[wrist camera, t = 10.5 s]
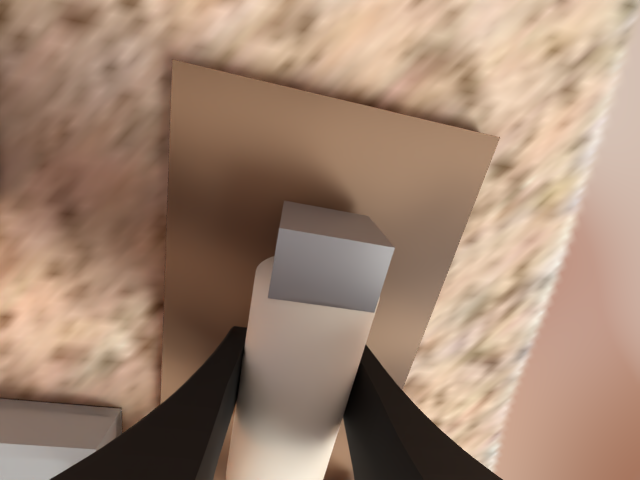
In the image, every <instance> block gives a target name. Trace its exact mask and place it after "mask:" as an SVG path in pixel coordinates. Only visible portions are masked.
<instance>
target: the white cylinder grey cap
mask: <svg viewBox="0 0 640 480" xmlns="http://www.w3.org/2000/svg"><path fill="white" fill-rule="evenodd" d="M394 249H395V247H394V246H393V245H392V244H391V243H390V241H389V240H388V239H387V238H386V237H385V235H384V234H383V233H382V232H381V231H380V229H379V228H378V227H377V226H376V225H375V223H374V222H373V221H372V220H371V219H370V217H369V216H365V215H360V214H354V213H349V212H344V211H338V210H333V209H327V208H322V207H317V206H311V205H306V204H300V203H295V202H289V201H284V204H283V209H282V215H281V221H280V227H279V233H278V239H277V244H276V250H275V256H273V257H270V258H268V259H266V260H264V261H263V262H261V263H260V264H259V265H258V267H257V269H256V272H255V279H254V286H253V293H252V300H251V306H250V313H249V320H248V327H247V333H246V340H245V347H244V354H243V361H242V367H241V374H240V381H239V388H238V395H237V401H236V408H235V415H234V422H233V428H232V435H231V442H230V449H229V455H228V462H227V469H226V480H323V479H324V475H325V472H326V469H327V466H328V463H329V459H330V456H331V453H332V450H333V447H334V443H335V440H336V437H337V434H338V431H339V427H340V424H341V421H342V418H343V415H344V412H345V408H346V405H347V402H348V399H349V396H350V392H351V389H352V386H353V383H354V380H355V376H356V373H357V370H358V367H359V364H360V360H361V357H362V354H363V351H364V348H365V345H366V341H367V338H368V335H369V332H370V329H371V325H372V322H373V319H374V316H375V313H376V309H377V306H378V303H379V299H380V293H381V290H382V287H383V284H384V281H385V277H386V274H387V271H388V268H389V265H390V261H391V258H392V255H393V252H394Z"/></svg>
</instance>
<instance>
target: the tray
mask: <svg viewBox="0 0 640 480" xmlns="http://www.w3.org/2000/svg"><path fill="white" fill-rule="evenodd" d="M121 434H122V409H120V408H108V407H96V406H84V405H71V404H59V403H47V402H35V401H23V400H11V399H0V480H50V479H51V478H53V477H54V476H56V475H58V474H60V473H61V472H63V471H65V470H66V469H68V468H69V467H71V466H73V465H74V464H76V463H78V462H79V461H81V460H83V459H84V458H86V457H88V456H89V455H91V454H92V453H94V452H96V451H97V450H99V449H100V448H102V447H103V446H105V445H106V444H108V443H109V442H111V441H112V440H113V439H115V438H116V437H118V436H119V435H121Z"/></svg>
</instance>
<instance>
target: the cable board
mask: <svg viewBox="0 0 640 480" xmlns="http://www.w3.org/2000/svg"><path fill="white" fill-rule="evenodd" d="M499 139H500V137H496V136H492V135H488V134H484V133H479V132H475V131H471V130H467V129H463V128H459V127H454V126H450V125H446V124H442V123H438V122H433V121H429V120H425V119H421V118H417V117H412V116H408V115H404V114H400V113H396V112H391V111H387V110H383V109H379V108H375V107H370V106H366V105H362V104H358V103H354V102H349V101H345V100H341V99H337V98H333V97H328V96H324V95H320V94H316V93H312V92H308V91H303V90H299V89H295V88H291V87H287V86H282V85H278V84H274V83H270V82H266V81H261V80H257V79H253V78H249V77H245V76H240V75H236V74H232V73H228V72H224V71H219V70H215V69H211V68H207V67H203V66H198V65H194V64H190V63H186V62H182V61H177V60H173V59H172V84H171V113H170V142H169V171H168V200H167V228H166V257H165V286H164V315H163V344H162V373H161V402H160V404H162V403H163V402H164V401H165V400H166V399H168V398H169V397H170V396H171V395H172V394H173V393H174V392H175V391H177V390H178V389H179V388H180V387H181V386H182V385H183V384H184V383H185V382H186V381H187V380H188V379H189V378H190V377H191V376H192V375H193V374H194V373H195V372H196V371H197V370H198V369H199V368H200V367H201V366H202V365H203V364H204V362H205V361H206V360H207V359H208V358H209V357H210V355H211V354H212V353H213V352H214V351H215V350H216V348H217V347H218V346H219V345H220V343H221V342H222V341H223V339H224V338H225V337H226V335H227V334H228V332H229V330H230V329H231V328H232V327H233V326H238V327H246V328H247V327H248V320H249V313H250V306H251V300H252V293H253V286H254V279H255V272H256V269H257V267H258V265H259V264H260V263H261V262H263V261H264V260H266V259H268V258H270V257H273V256H275V250H276V244H277V239H278V233H279V227H280V221H281V215H282V209H283V204H284V201H289V202H295V203H300V204H306V205H311V206H317V207H322V208H327V209H333V210H338V211H344V212H349V213H354V214H360V215H365V216H369V217H370V219H371V220H372V221H373V222H374V223H375V225H376V226H377V227H378V228H379V229H380V231H381V232H382V233H383V234H384V235H385V237H386V238H387V239H388V240H389V241H390V243H391V244H392V245H393V246H394V247H395V249H394V252H393V255H392V258H391V261H390V265H389V268H388V271H387V274H386V277H385V281H384V284H383V287H382V290H381V293H380V299H379V303H378V306H377V309H376V313H375V316H374V319H373V322H372V325H371V329H370V332H369V335H368V338H367V341H366V345H367V346H368V347H369V349H370V350H371V351H372V353H373V354H374V355H375V357H376V358H377V359H378V361H379V362H380V363H381V365H382V366H383V367H384V369H385V370H386V371H387V372H388V374H389V375H390V376H391V377H392V379H393V380H394V381H395V382H396V384H397V385H398V386H399V387H400V388H401V390H402V389H403V387H404V384H405V381H406V379H407V376H408V374H409V371H410V368H411V366H412V363H413V361H414V358H415V356H416V353H417V350H418V348H419V345H420V343H421V340H422V337H423V335H424V332H425V330H426V327H427V325H428V322H429V319H430V317H431V314H432V312H433V309H434V307H435V304H436V301H437V299H438V296H439V294H440V291H441V288H442V286H443V283H444V281H445V278H446V276H447V273H448V270H449V268H450V265H451V263H452V260H453V258H454V255H455V252H456V250H457V247H458V245H459V242H460V239H461V237H462V234H463V232H464V229H465V227H466V224H467V221H468V219H469V216H470V214H471V211H472V208H473V206H474V203H475V201H476V198H477V196H478V193H479V190H480V188H481V185H482V183H483V180H484V178H485V175H486V172H487V170H488V167H489V165H490V162H491V159H492V157H493V154H494V152H495V149H496V147H497V144H498V141H499ZM235 408H236V404H235ZM235 408H234V411H233V414H232V417H231V421H230V424H229V427H228V430H227V433H226V437H225V440H224V443H223V446H222V449H221V453H220V456H219V459H218V463H217V467H216V470H215V474H214V479H213V480H226V469H227V462H228V455H229V449H230V442H231V435H232V428H233V422H234V415H235ZM323 480H354V474H353V467H352V462H351V457H350V451H349V446H348V441H347V436H346V431H345V426H344V420H343V418H342V421H341V424H340V427H339V431H338V434H337V437H336V440H335V443H334V447H333V450H332V453H331V456H330V459H329V463H328V466H327V469H326V472H325V475H324V479H323Z"/></svg>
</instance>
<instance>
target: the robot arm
mask: <svg viewBox="0 0 640 480" xmlns="http://www.w3.org/2000/svg"><path fill="white" fill-rule="evenodd" d="M246 333H247V328H246V327H238V326H233V327H232V328H231V329H230V330H229V332H228V334H227V335H226V337H225V338H224V339H223V341H222V342H221V343H220V345H219V346H218V347H217V348H216V350H215V351H214V352H213V353H212V354H211V355H210V357H209V358H208V359H207V360H206V361H205V362H204V364H203V365H202V366H201V367H200V368H199V369H198V370H197V371H196V372H195V373H194V374H193V375H192V376H191V377H190V378H189V379H188V380H187V381H186V382H185V383H184V384H183V385H182V386H181V387H180V388H179V389H178V390H177V391H175V392H174V393H173V394H172V395H171V396H170V397H169V398H168V399H166V400H165V401H164V402H163V403H162V404H160V405H159V406H158V407H157V408H155V409H154V410H153V411H152V412H150V413H149V414H148V415H147V416H145V417H144V418H143V419H142V420H140V421H139V422H138V423H136V424H135V425H134V426H132V427H131V428H129V429H128V430H126V431H125V432H124V433H122V434H121V435H119V436H118V437H116V438H115V439H113V440H112V441H111V442H109V443H108V444H106V445H105V446H103V447H102V448H100V449H99V450H97V451H96V452H94V453H92V454H91V455H89V456H88V457H86V458H84V459H83V460H81V461H79V462H78V463H76V464H74V465H73V466H71V467H69V468H68V469H66V470H65V471H63V472H61V473H60V474H58V475H56V476H54V477H53V478H51V479H50V480H213V479H214V474H215V470H216V467H217V463H218V459H219V456H220V453H221V449H222V446H223V443H224V440H225V437H226V433H227V430H228V427H229V424H230V421H231V417H232V414H233V411H234V408H235V404H236V401H237V395H238V388H239V381H240V374H241V367H242V361H243V354H244V347H245V340H246ZM343 420H344V426H345V431H346V436H347V441H348V446H349V451H350V457H351V462H352V467H353V474H354V480H503V479H501V478H500V477H498V476H497V475H495V474H494V473H493V472H491V471H490V470H489V469H487V468H486V467H485V466H484V465H482V464H481V463H480V462H478V461H477V460H476V459H474V458H473V457H472V456H471V455H469V454H468V453H467V452H466V451H464V450H463V449H462V448H461V447H460V446H458V445H457V444H456V443H455V442H454V441H453V440H451V439H450V438H449V437H448V436H447V435H446V434H445V433H443V432H442V431H441V430H440V429H439V428H438V427H437V426H436V425H435V424H434V423H433V422H432V421H431V420H430V419H429V418H428V417H427V416H426V415H425V414H424V413H423V412H422V411H421V410H420V409H419V408H418V407H417V406H416V405H415V404H414V403H413V402H412V401H411V400H410V399H409V397H408V396H407V395H406V394H405V393H404V392H403V391H402V390H401V388H400V387H399V386H398V385H397V384H396V382H395V381H394V380H393V379H392V377H391V376H390V375H389V374H388V372H387V371H386V370H385V369H384V367H383V366H382V365H381V363H380V362H379V361H378V359H377V358H376V357H375V355H374V354H373V353H372V351H371V350H370V349H369V347H368V346H367V345H365V348H364V351H363V354H362V357H361V360H360V364H359V367H358V370H357V373H356V376H355V380H354V383H353V386H352V389H351V392H350V396H349V399H348V402H347V405H346V408H345V412H344V415H343Z"/></svg>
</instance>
